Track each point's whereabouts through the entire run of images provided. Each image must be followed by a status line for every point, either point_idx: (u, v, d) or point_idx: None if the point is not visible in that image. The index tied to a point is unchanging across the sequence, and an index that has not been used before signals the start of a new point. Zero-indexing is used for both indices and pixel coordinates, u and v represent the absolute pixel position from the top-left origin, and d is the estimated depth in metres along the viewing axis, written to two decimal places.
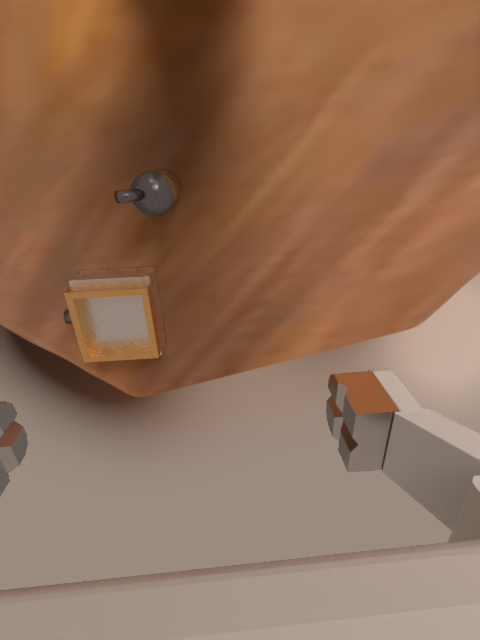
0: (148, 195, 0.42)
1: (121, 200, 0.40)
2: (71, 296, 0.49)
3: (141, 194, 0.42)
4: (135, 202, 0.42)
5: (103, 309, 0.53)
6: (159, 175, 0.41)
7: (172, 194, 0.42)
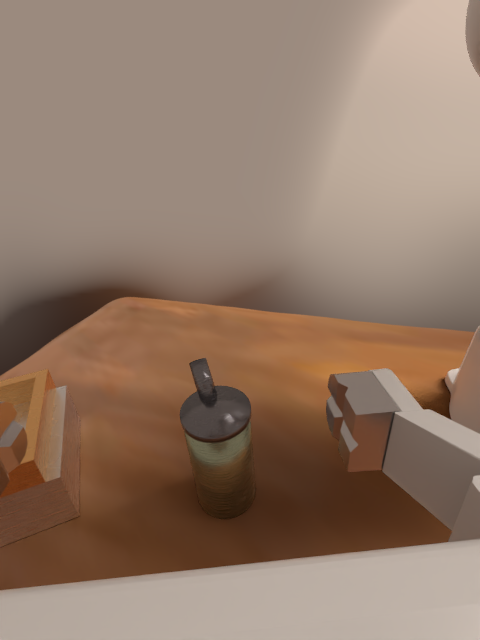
0: (211, 405, 0.25)
1: (194, 361, 0.26)
2: (40, 375, 0.33)
3: (210, 395, 0.26)
4: (195, 394, 0.26)
5: None
6: (248, 410, 0.24)
7: (225, 434, 0.23)
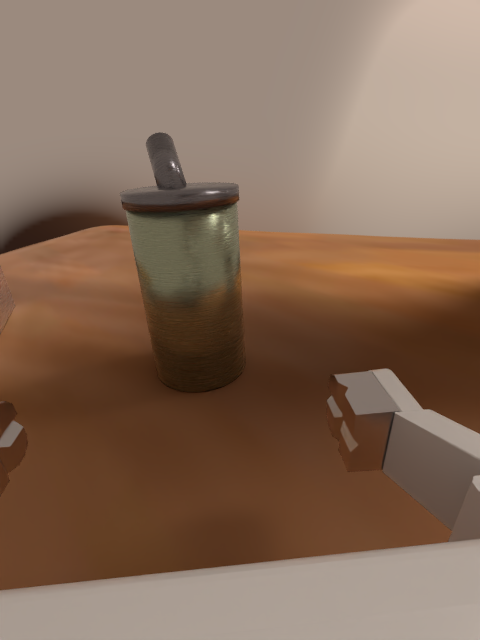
0: (175, 188, 0.15)
1: (153, 135, 0.17)
2: None
3: (175, 179, 0.16)
4: (153, 186, 0.17)
5: None
6: (233, 186, 0.15)
7: (191, 195, 0.13)
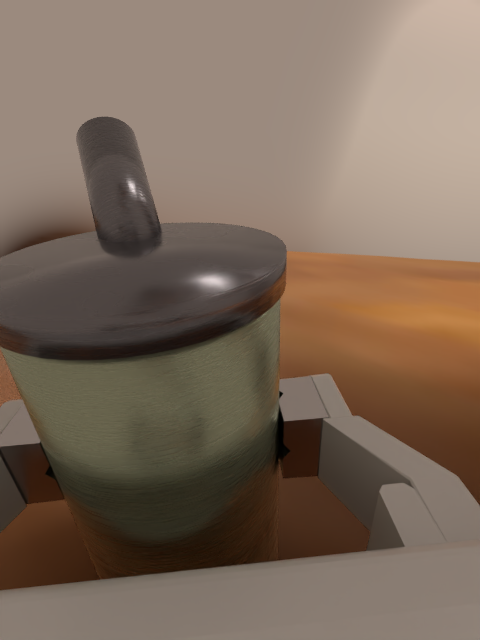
0: (131, 247, 0.06)
1: (89, 123, 0.08)
2: None
3: (133, 223, 0.07)
4: (88, 234, 0.08)
5: None
6: (276, 250, 0.06)
7: (158, 309, 0.04)
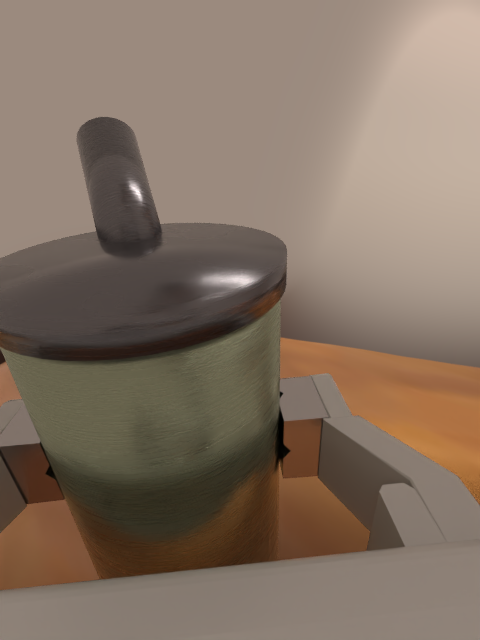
0: (131, 247, 0.06)
1: (89, 123, 0.08)
2: None
3: (133, 223, 0.07)
4: (88, 234, 0.08)
5: None
6: (276, 250, 0.06)
7: (159, 310, 0.04)
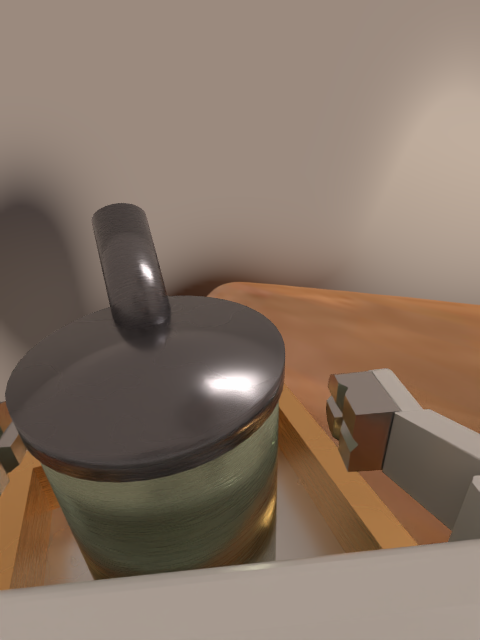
0: (145, 338, 0.07)
1: (104, 210, 0.08)
2: None
3: (146, 309, 0.08)
4: (103, 312, 0.08)
5: None
6: (276, 352, 0.07)
7: (176, 441, 0.05)
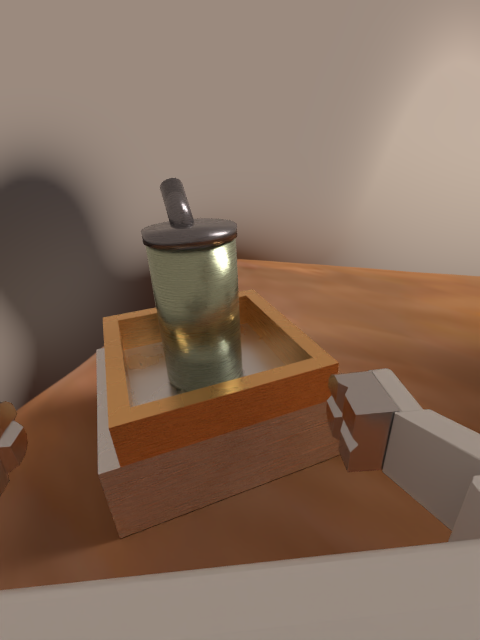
0: (185, 225, 0.19)
1: (166, 180, 0.20)
2: (250, 294, 0.28)
3: (184, 218, 0.20)
4: (166, 222, 0.20)
5: None
6: (232, 225, 0.18)
7: (199, 237, 0.17)
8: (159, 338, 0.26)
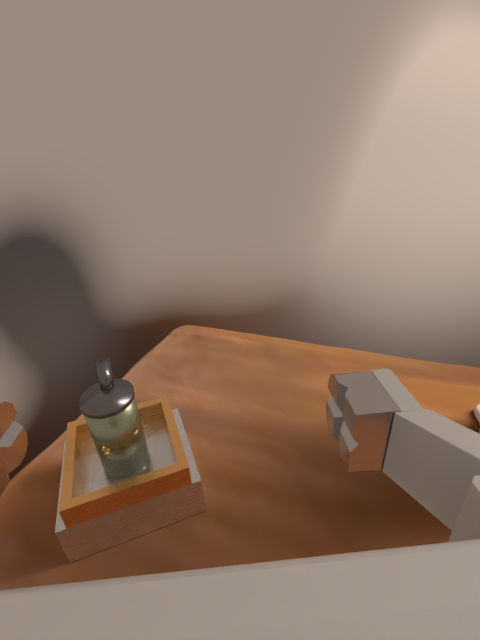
0: (105, 392, 0.34)
1: (98, 360, 0.35)
2: (164, 401, 0.43)
3: (106, 385, 0.35)
4: (98, 384, 0.35)
5: None
6: (129, 397, 0.33)
7: (105, 413, 0.32)
8: None
